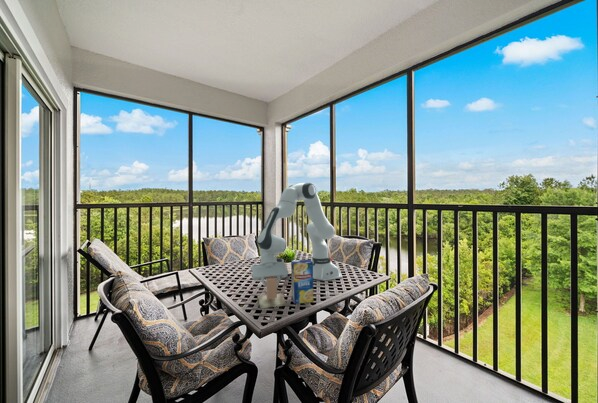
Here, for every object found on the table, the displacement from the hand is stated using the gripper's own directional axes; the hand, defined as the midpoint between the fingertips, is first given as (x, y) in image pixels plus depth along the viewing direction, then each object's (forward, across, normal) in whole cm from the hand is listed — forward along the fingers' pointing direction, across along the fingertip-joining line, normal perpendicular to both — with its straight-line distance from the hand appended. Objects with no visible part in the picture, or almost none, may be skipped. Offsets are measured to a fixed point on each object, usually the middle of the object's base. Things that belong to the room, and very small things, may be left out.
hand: (271, 285), depth 142 cm
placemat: (+6, 0, +7) cm, 9 cm away
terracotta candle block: (+4, 0, +5) cm, 6 cm away
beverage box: (+8, +17, +5) cm, 20 cm away
